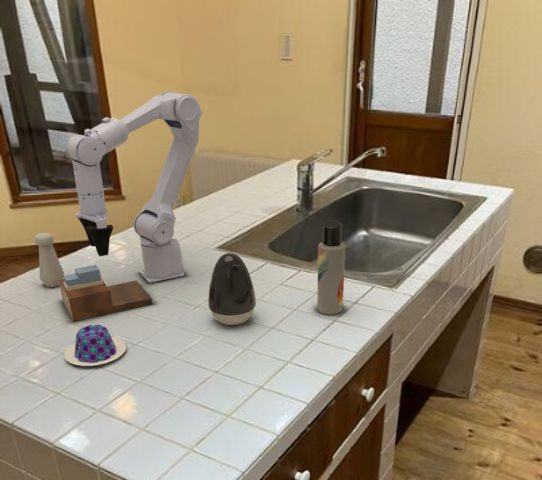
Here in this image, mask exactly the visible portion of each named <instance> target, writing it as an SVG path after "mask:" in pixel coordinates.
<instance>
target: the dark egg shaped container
mask: <svg viewBox="0 0 542 480" xmlns="http://www.w3.org/2000/svg"><path fill="white" fill-rule="evenodd" d="M210 277H211V278H210V283H209V289H208V298H207V299H208V300H207V303H208V308H209V310H210V312H211V315H212V316H213V317H214V319H215V320H216V321H217V322H219V323H220V324H223V325H227V326H237V325H241V324H243V323H245V322H247V321H248V320H249V319H250V318H251V317H252V316H253V314H254V312H255V308H256V306H257V299H256V293H255V288H254V283H253V281H252V278H251V275H250V272H249V270H248V267H247V265H246V264H245V262H244V261H243V259H242V258H241V256H239V255H238V254H236V253H233V252H227V253H223V254H222V255H221V256H219V257H218V259H217V260H216V262H215V264H214V267H213V270H212V273H211V276H210Z"/></svg>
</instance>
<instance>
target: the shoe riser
mask: <svg viewBox="0 0 542 480" xmlns="http://www.w3.org/2000/svg"><path fill="white" fill-rule="evenodd" d="M101 279H102V277H101ZM102 281H103V284H101V285H96V286H91V287H86V288H81V289H76V290H71V291H67V290H66V288H65V286H64V283H63V282H65V280H64V278H63V279H62V280H59V285H60V286H59V289H60V294H61V298H62V302H63V304H64V306H65V308H66V310H67V312H68V315H69V316H70V318H71V319H72V321H73V322H77V321H82V320H87V319H91V318H96V317H100V316H105V315H110V314H114V313H118V312H122V311H126V310H131V309H136V308H140V307H146V306H150V305H153V301H152V297H151V296H150V294H148V292H147V291H146V289H144V287H143V286H142V285H141V284H140V283H139V282H138V280H132V281H128V282H123V283H118V284H112V285H107V284H106V282H105V281H104V280H103V279H102Z"/></svg>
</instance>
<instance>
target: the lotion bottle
mask: <svg viewBox="0 0 542 480" xmlns="http://www.w3.org/2000/svg"><path fill="white" fill-rule="evenodd" d="M317 247H318V248H317V293H316V294H317V296H316V297H317V298H316V299H317V301H316V304H317V305H316V306H317V307H316V309H317V311H318V312H319V313H321V314H324V315H330V316H331V315H337V314H340V313H341V312H342V311H343V307H344V291H345V287H344V286H345V264H346V263H345V261H346V259H345V258H346V244H345V243H344V242H342V223H341V222H340V221H338V220H335V219H331V220H327V221H326V222H323V224H322V242H320V243H318V245H317Z"/></svg>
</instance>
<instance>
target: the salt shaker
mask: <svg viewBox="0 0 542 480" xmlns="http://www.w3.org/2000/svg"><path fill="white" fill-rule="evenodd" d="M54 240H55V239H54V236H53V234H52V233H50V232H40V233H37V234H35V236H34V243H35V245H36V246H38V258H39V259H38V260H39V263H38V265H39V279H40V281H41V282H42V283H43V284H44V285H45V287H46V288H56V287H60V285H59V280H62V279H64V276H65V272H64V270H63V267H62V265H61V262H60V260H59V257H58V255H57V252H56V250H55V248H54V244H53V243H54V242H55V241H54Z"/></svg>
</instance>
